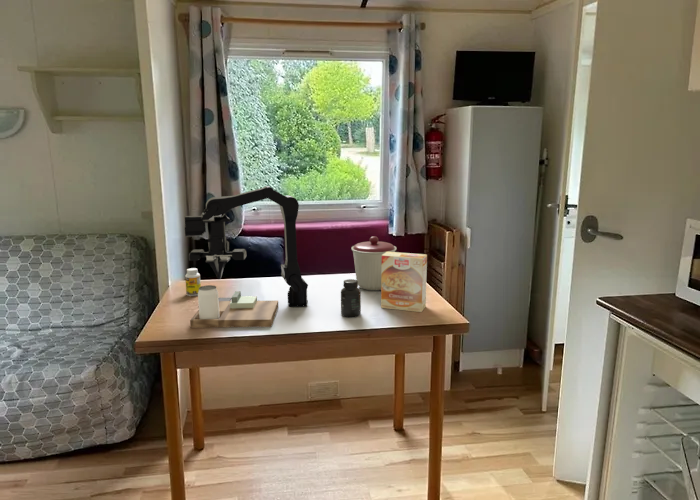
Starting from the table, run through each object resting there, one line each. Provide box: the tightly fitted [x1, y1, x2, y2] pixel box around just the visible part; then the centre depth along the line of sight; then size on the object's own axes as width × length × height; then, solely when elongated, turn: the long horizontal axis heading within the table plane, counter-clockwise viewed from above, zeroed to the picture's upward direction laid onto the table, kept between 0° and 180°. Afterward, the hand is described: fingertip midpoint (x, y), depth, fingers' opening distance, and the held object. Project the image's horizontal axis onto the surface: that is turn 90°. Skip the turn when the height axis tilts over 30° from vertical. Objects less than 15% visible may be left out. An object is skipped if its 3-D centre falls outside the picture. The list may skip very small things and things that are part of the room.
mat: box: [198, 297, 232, 308], centre depth 195 cm, size 10×10×1 cm
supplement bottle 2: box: [340, 278, 362, 318], centre depth 180 cm, size 7×7×12 cm
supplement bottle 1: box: [184, 267, 202, 297], centre depth 204 cm, size 6×6×10 cm
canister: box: [350, 236, 398, 291], centre depth 211 cm, size 18×18×21 cm
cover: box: [230, 290, 258, 308], centre depth 184 cm, size 8×8×4 cm
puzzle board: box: [189, 300, 279, 329], centre depth 179 cm, size 26×20×2 cm
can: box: [197, 284, 220, 319], centre depth 173 cm, size 6×6×12 cm
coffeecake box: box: [380, 251, 428, 313], centre depth 186 cm, size 15×7×20 cm, turn 70°
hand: (219, 278), depth 182 cm, fingers closed
